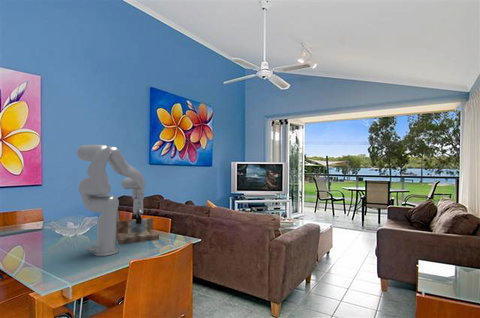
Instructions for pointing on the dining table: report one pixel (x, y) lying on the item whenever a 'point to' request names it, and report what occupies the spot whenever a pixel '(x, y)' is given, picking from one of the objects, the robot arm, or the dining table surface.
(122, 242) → the walnut ledge
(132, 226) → the picture frame
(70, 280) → the dining table surface
